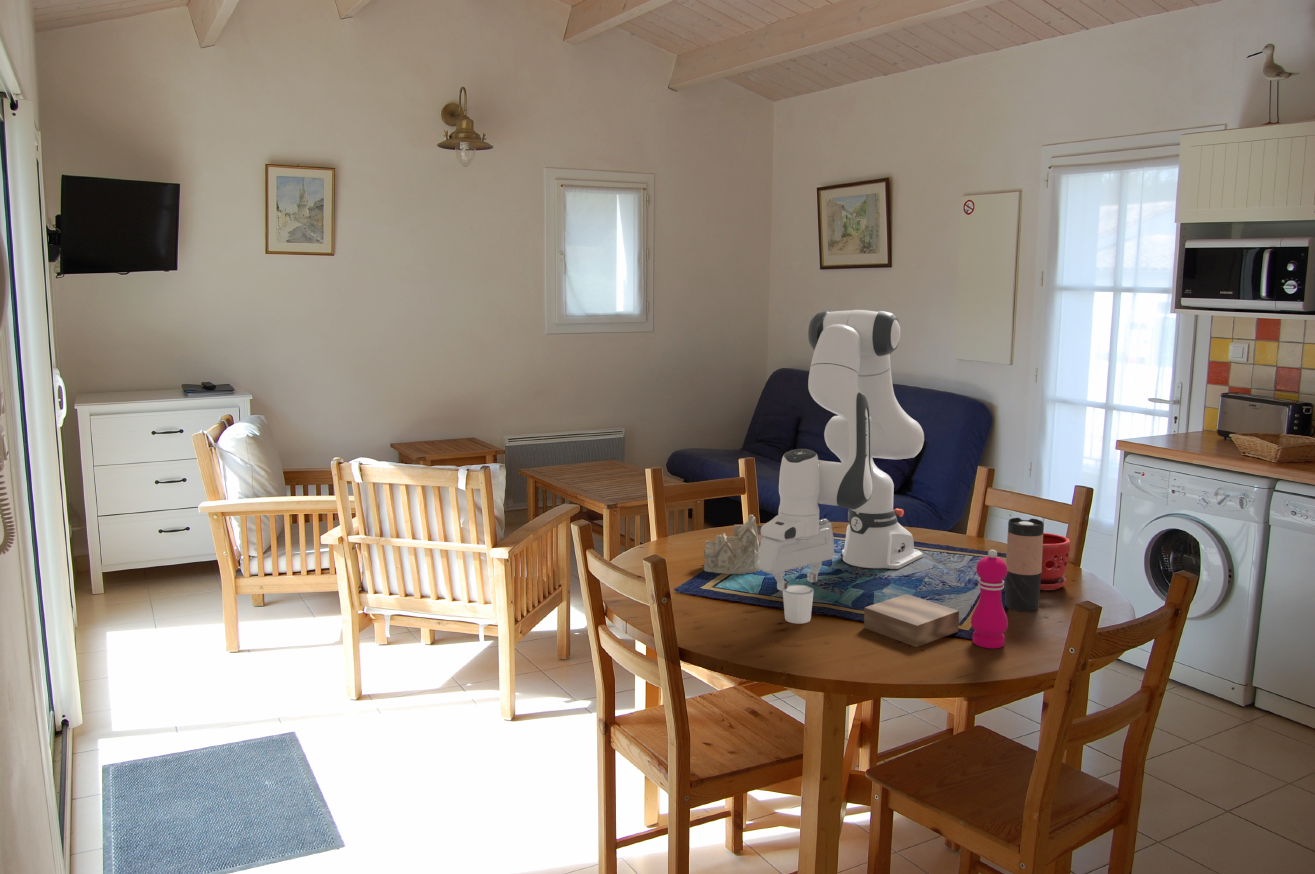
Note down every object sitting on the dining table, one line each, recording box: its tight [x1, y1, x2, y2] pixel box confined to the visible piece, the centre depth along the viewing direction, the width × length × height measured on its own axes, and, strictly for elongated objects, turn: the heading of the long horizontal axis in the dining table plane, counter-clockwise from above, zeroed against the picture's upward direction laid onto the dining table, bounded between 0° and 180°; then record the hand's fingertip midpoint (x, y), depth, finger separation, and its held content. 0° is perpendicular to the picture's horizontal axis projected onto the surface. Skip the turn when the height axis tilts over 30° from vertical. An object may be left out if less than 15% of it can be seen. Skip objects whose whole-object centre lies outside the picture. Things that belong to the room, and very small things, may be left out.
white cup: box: [782, 584, 815, 625], centre depth 217 cm, size 7×7×7 cm
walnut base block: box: [863, 593, 960, 648], centre depth 210 cm, size 14×14×5 cm
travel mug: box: [1004, 517, 1045, 613], centre depth 222 cm, size 8×8×20 cm
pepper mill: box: [970, 549, 1009, 649], centre depth 200 cm, size 7×7×20 cm
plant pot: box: [1040, 532, 1071, 591], centre depth 237 cm, size 13×13×12 cm
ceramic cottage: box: [703, 514, 762, 575], centre depth 256 cm, size 16×16×15 cm
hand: (797, 585), depth 215 cm, fingers open, 8 cm apart
